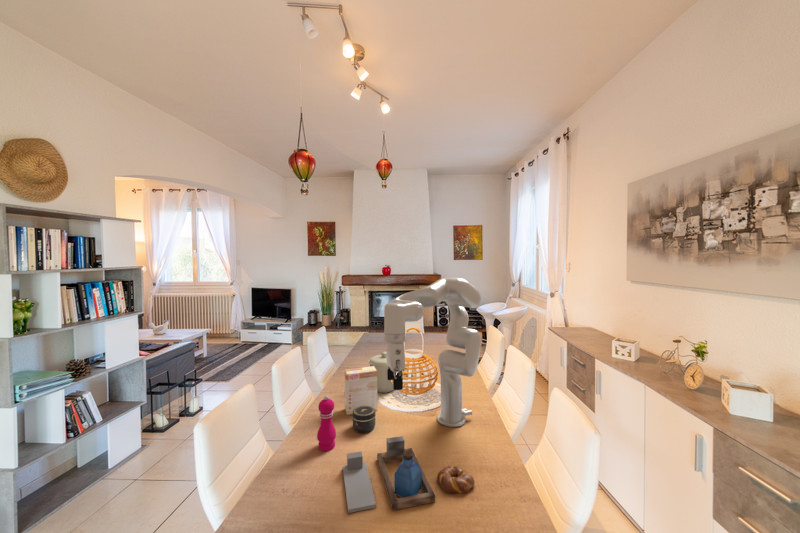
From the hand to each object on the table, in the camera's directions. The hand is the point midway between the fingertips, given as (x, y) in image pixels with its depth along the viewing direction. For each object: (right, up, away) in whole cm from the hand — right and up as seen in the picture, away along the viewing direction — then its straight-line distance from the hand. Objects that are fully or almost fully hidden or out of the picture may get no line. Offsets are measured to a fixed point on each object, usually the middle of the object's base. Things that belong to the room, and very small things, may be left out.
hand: (394, 384), depth 114 cm
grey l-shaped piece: (-12, -28, -13) cm, 33 cm away
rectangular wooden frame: (+3, -28, -10) cm, 29 cm away
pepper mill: (-27, -28, +9) cm, 39 cm away
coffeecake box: (-17, -27, +39) cm, 50 cm away
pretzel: (+20, -28, -12) cm, 36 cm away
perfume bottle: (+4, -28, -15) cm, 32 cm away
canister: (-7, -27, +63) cm, 69 cm away
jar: (-14, -27, +22) cm, 38 cm away
